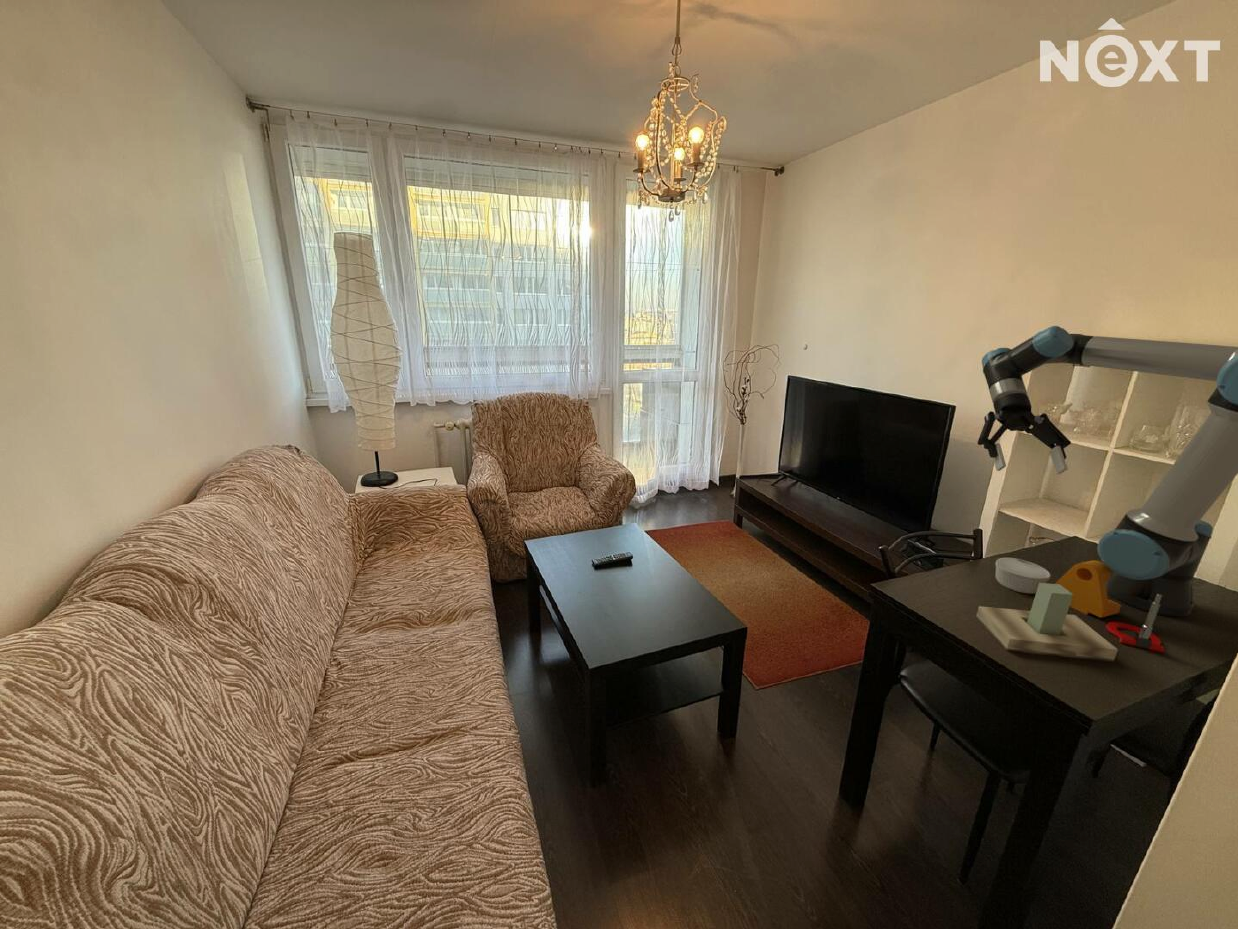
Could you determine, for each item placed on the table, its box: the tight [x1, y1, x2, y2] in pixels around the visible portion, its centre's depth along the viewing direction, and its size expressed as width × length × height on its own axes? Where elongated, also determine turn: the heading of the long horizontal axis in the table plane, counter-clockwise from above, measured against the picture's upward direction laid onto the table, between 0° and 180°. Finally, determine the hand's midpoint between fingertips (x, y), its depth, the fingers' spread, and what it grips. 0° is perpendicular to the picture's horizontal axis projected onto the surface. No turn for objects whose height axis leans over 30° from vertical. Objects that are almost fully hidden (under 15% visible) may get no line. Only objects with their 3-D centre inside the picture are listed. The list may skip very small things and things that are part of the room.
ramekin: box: [994, 557, 1052, 595], centre depth 127 cm, size 11×11×5 cm
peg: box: [1027, 582, 1073, 636], centre depth 104 cm, size 4×4×12 cm
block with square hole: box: [975, 605, 1119, 663], centre depth 106 cm, size 20×12×3 cm, turn 81°
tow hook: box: [1105, 593, 1165, 654], centre depth 105 cm, size 8×13×9 cm
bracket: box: [1054, 559, 1122, 619], centre depth 117 cm, size 11×7×12 cm
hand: (1031, 470), depth 119 cm, fingers open, 13 cm apart
